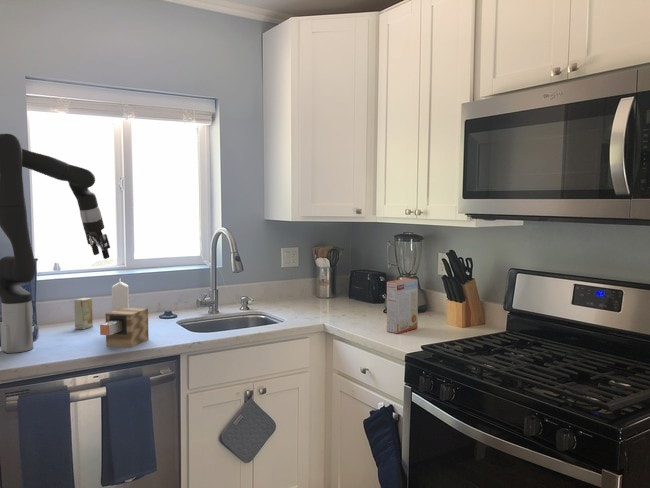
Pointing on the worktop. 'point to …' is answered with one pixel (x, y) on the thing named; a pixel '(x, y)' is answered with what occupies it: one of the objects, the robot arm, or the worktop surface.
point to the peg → (111, 327)
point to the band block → (129, 327)
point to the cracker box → (402, 305)
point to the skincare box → (83, 313)
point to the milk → (120, 296)
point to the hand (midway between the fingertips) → (101, 256)
